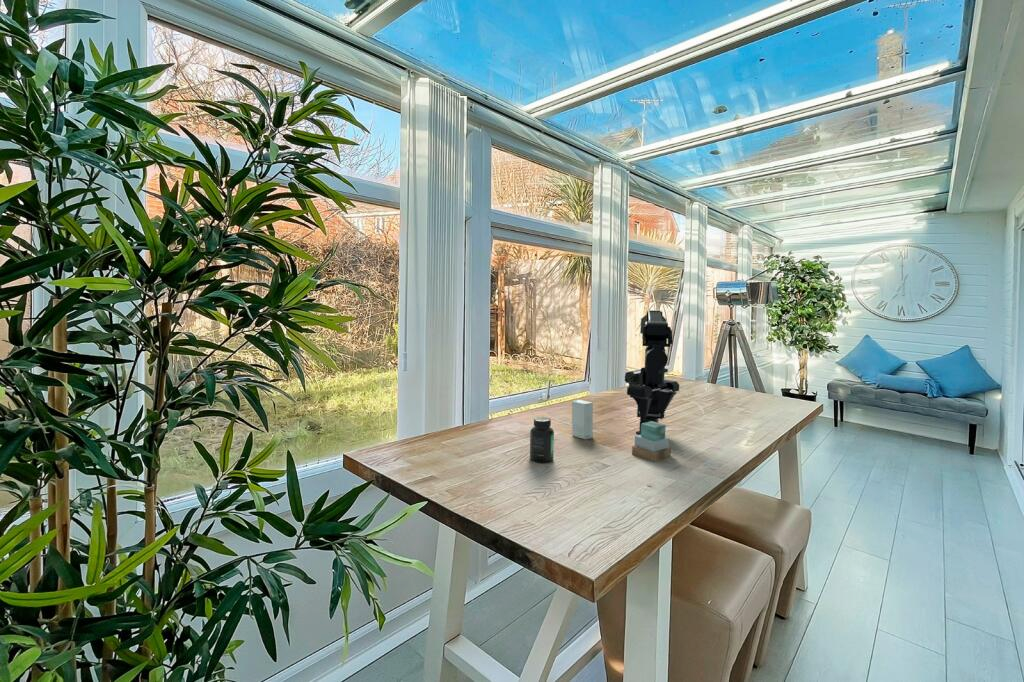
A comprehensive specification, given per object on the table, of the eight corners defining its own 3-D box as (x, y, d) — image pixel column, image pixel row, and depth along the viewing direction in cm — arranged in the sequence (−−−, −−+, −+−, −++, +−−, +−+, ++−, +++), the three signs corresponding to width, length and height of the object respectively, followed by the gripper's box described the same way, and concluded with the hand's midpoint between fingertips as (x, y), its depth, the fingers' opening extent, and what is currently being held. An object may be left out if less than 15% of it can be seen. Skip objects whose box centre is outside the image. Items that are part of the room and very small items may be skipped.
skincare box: (593, 437, 154) (594, 402, 153) (584, 440, 151) (585, 404, 150) (579, 433, 159) (580, 399, 158) (570, 435, 156) (571, 400, 155)
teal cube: (651, 433, 141) (651, 421, 140) (665, 437, 137) (665, 424, 136) (640, 436, 138) (641, 423, 137) (654, 440, 134) (655, 427, 133)
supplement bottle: (558, 461, 131) (559, 420, 130) (538, 465, 128) (539, 423, 127) (544, 454, 137) (545, 414, 136) (525, 457, 134) (525, 417, 133)
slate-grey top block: (648, 441, 143) (649, 432, 142) (668, 447, 137) (669, 437, 137) (634, 445, 138) (635, 435, 138) (654, 452, 133) (654, 441, 133)
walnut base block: (647, 450, 143) (647, 441, 143) (670, 457, 137) (671, 447, 137) (632, 455, 138) (632, 446, 138) (655, 463, 132) (655, 453, 132)
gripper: (649, 359, 147) (647, 407, 149) (612, 364, 135) (610, 415, 137) (681, 363, 139) (678, 414, 140) (645, 368, 127) (642, 424, 128)
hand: (652, 416), depth 136 cm, fingers open, 9 cm apart
